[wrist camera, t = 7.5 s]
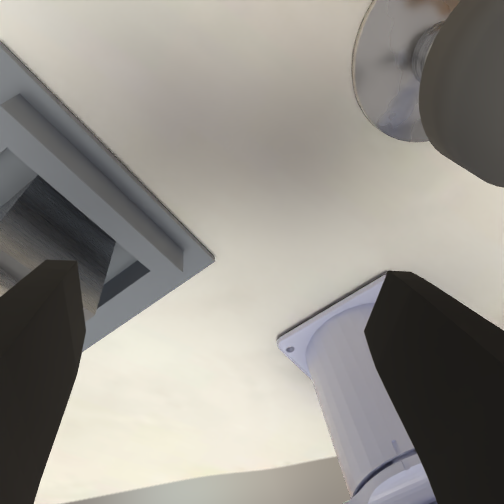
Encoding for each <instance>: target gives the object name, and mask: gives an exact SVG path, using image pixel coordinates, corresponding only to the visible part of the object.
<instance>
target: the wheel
mask: <svg viewBox="0 0 504 504" xmlns="http://www.w3.org/2000/svg"><path fill="white" fill-rule="evenodd" d="M419 112H420V118H421V123H422V126H423V129H424V132H425V134H426V135H427V137H428V139H429V141H430V142H431V144H432V145H433V146H434V147H435V149H437V150H438V151H439V152H440V153H441V154H442V155H444V156H445V157H447V158H449V159H450V160H452V161H453V162H455V163H457V164H458V165H460V166H461V167H463V168H464V169H466V170H468V171H469V172H471V173H472V174H474V175H476V176H477V177H479V178H480V179H482V180H484V181H485V182H487V183H490V184H492V185H495V186H499V187H504V0H461V1H460V2H459V3H458V4H457V6H456V7H455V8H454V9H453V11H452V12H451V13H450V15H449V16H448V18H447V19H446V21H445V22H444V24H443V25H442V27H441V28H440V30H439V32H438V34H437V36H436V38H435V39H434V41H433V44H432V46H431V48H430V51H429V53H428V55H427V58H426V61H425V65H424V68H423V71H422V76H421V81H420V88H419Z"/></svg>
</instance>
